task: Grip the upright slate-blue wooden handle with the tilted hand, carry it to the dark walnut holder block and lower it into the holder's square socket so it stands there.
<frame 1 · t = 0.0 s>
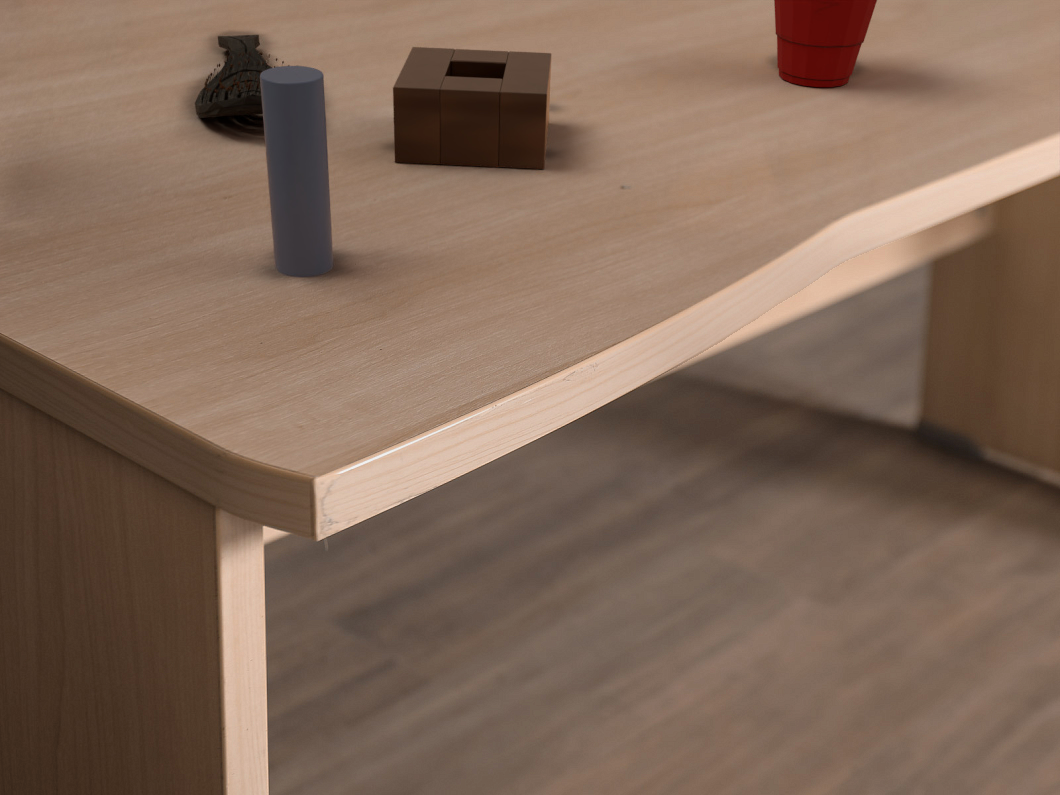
holder: (475, 141, 85), on the table
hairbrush: (249, 91, 93), on the table
handle: (305, 282, 64), on the table
plastic cup: (810, 80, 101), on the table
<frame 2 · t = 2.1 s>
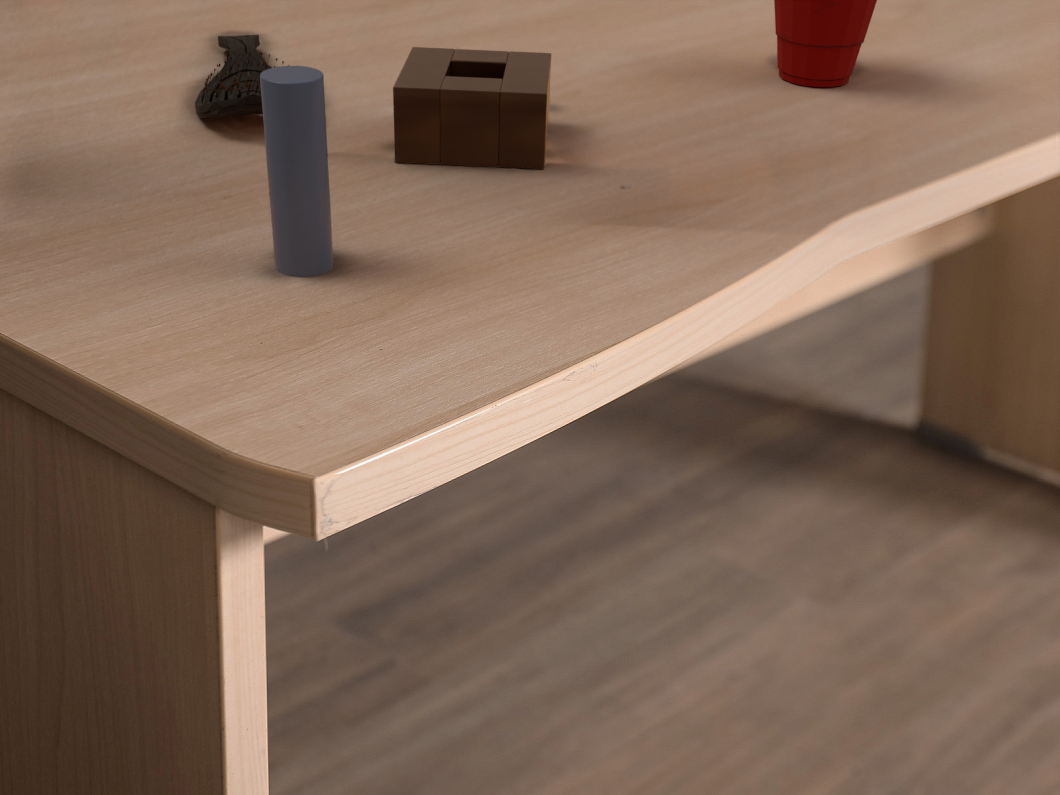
nothing on the table moved.
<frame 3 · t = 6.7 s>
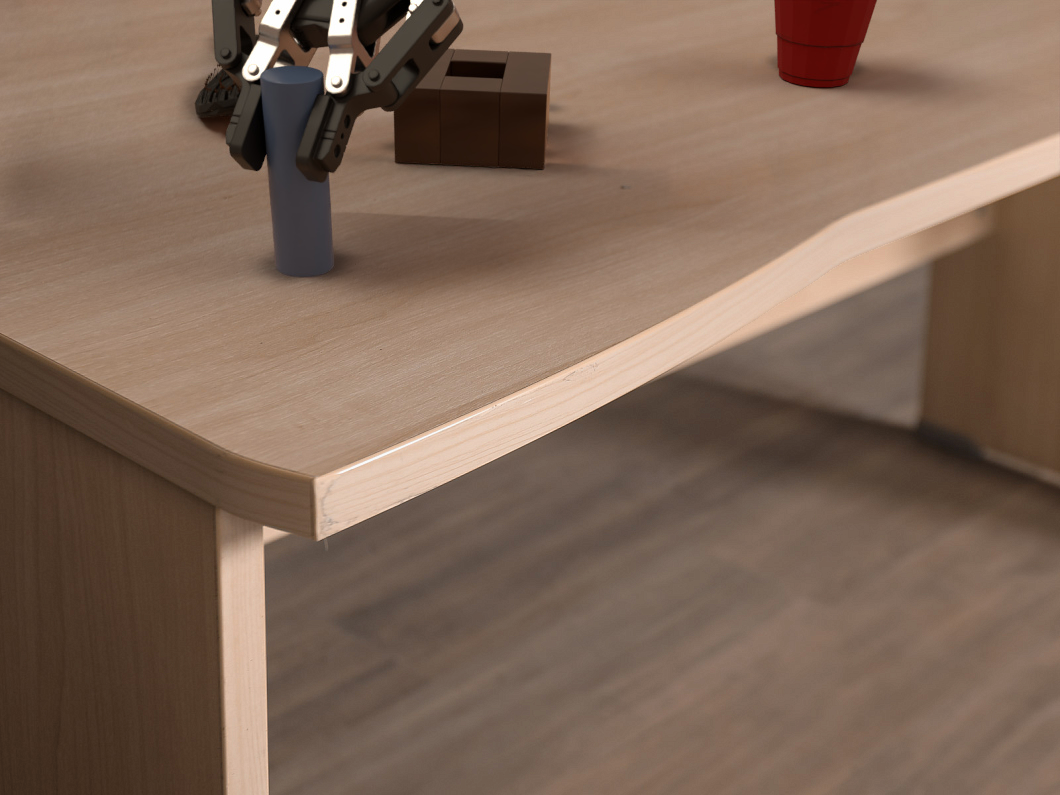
hand: (276, 167, 59), 7 cm above the table, tool tilted 45°, fingers closed on handle, 3 cm apart
handle: (306, 282, 64), on the table, touching gripper
everything else where it was.
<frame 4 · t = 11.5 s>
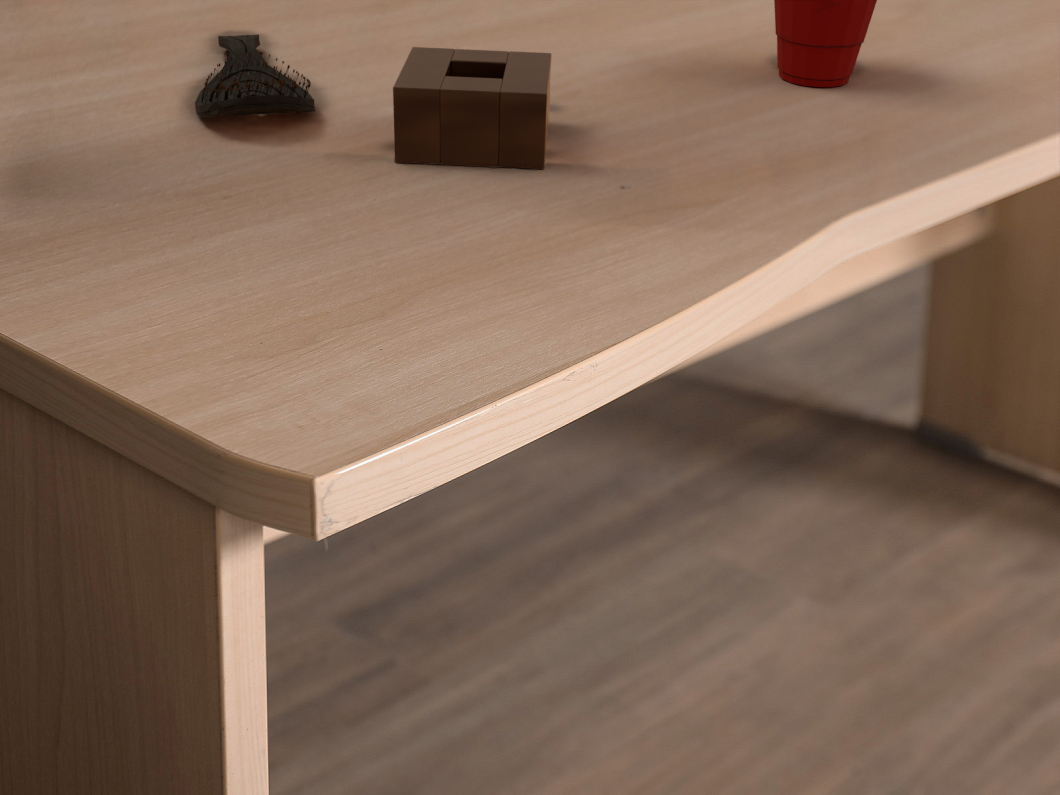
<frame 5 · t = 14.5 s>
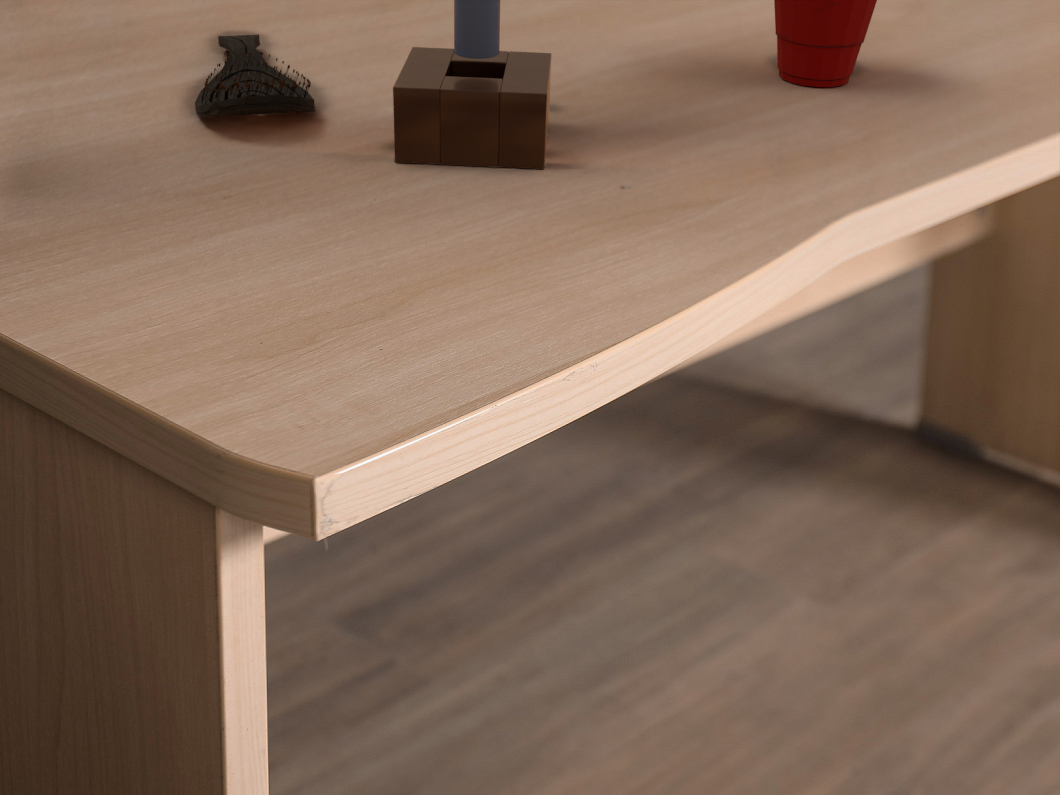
handle: (476, 52, 82), point 6 cm above the table, touching gripper
everything else where it was.
when the fingers open (7 cm above the table, at t = 16.6 s): handle stays where it is, resting in holder.
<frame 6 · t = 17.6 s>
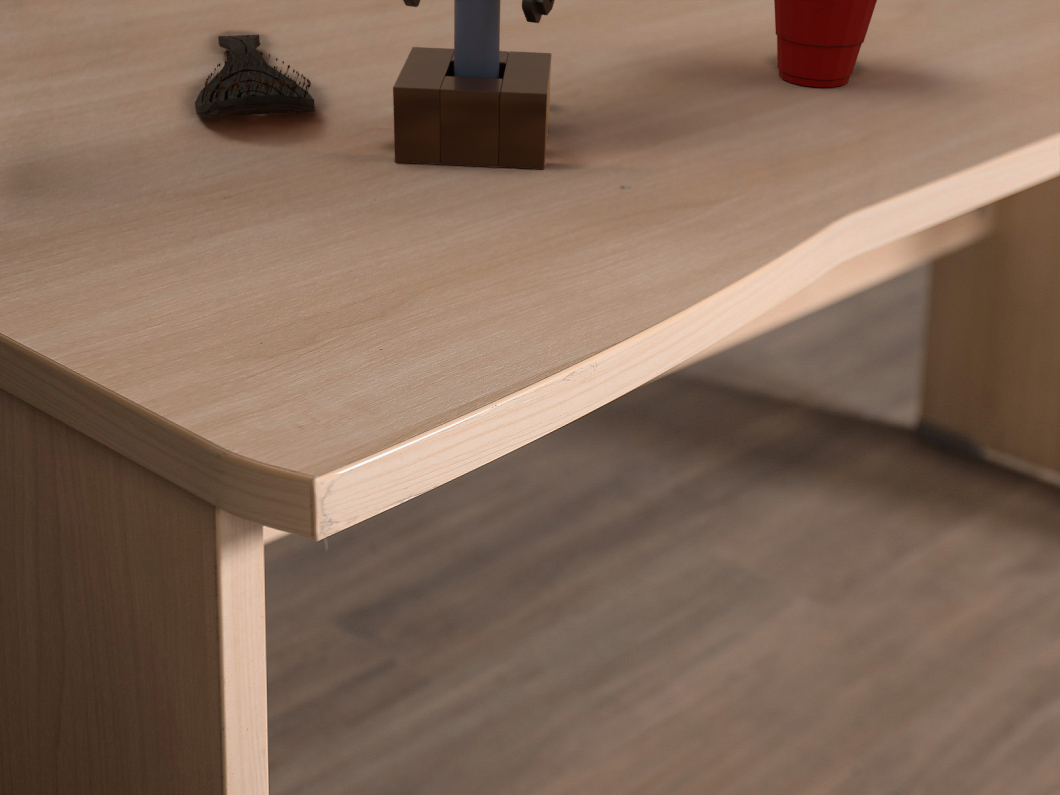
hand: (467, 7, 79), 9 cm above the table, tool tilted 45°, fingers open, 8 cm apart
handle: (475, 141, 85), resting in holder
everything else where it was.
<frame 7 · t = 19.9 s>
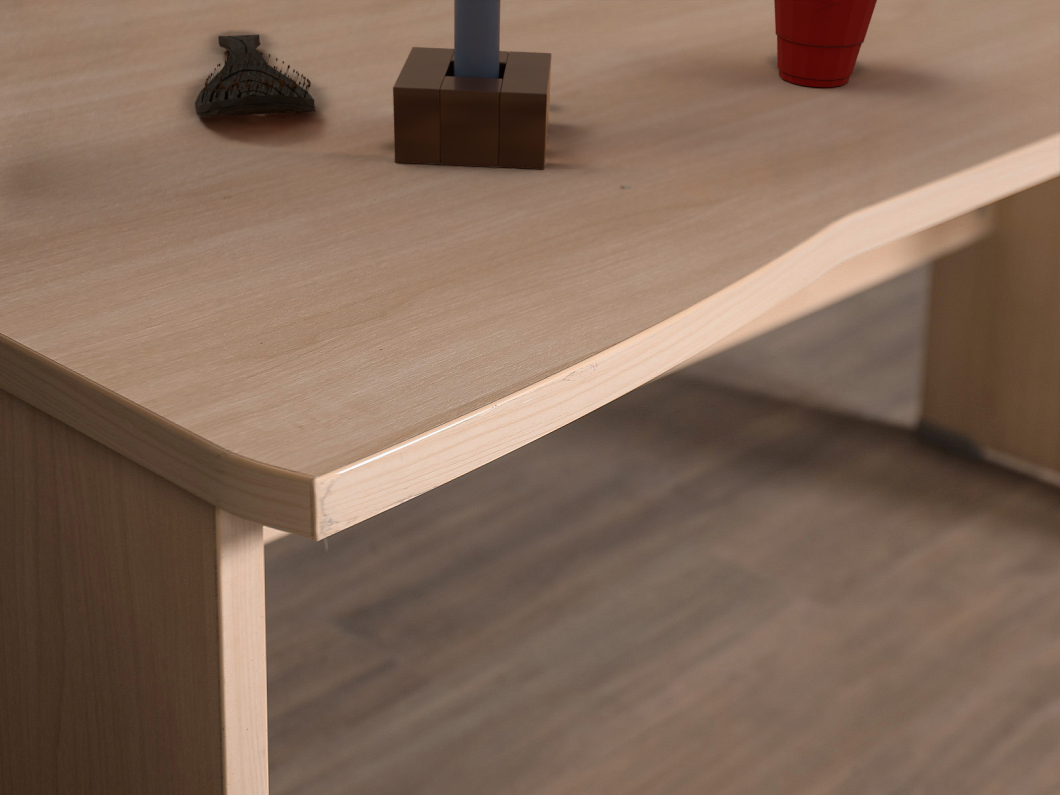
nothing on the table moved.
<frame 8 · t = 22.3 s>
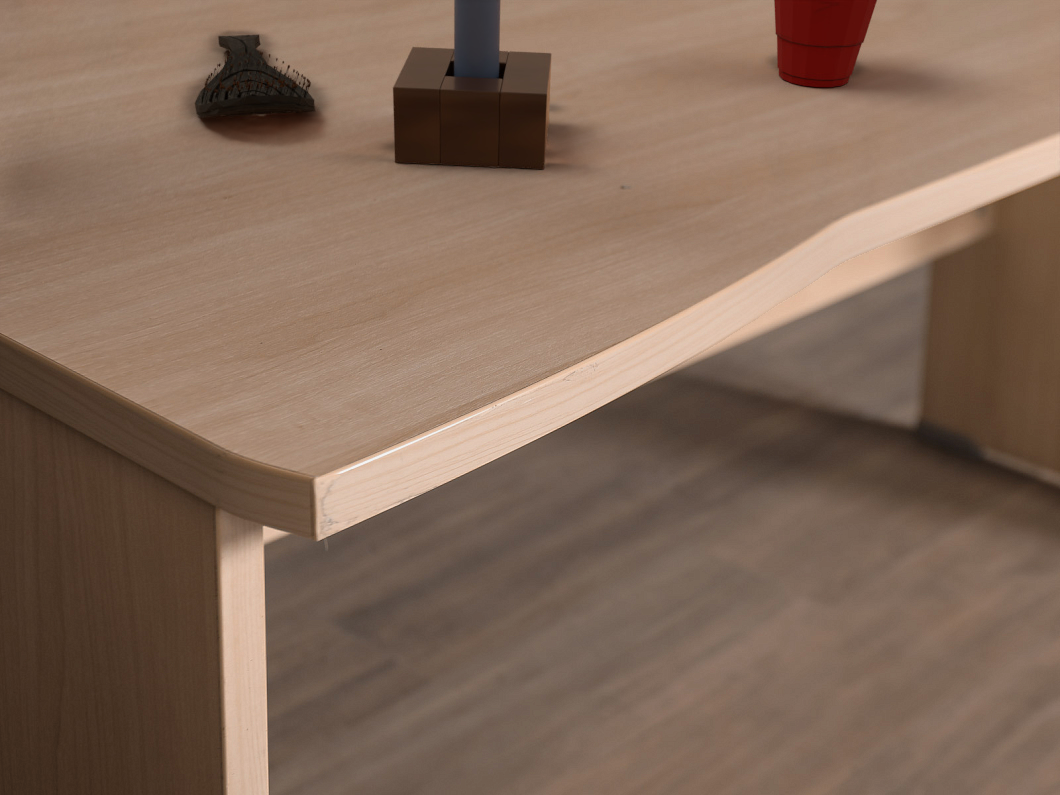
nothing on the table moved.
at the end: handle 0.0 cm off-centre in the holder, point 0.0 cm above the holder's base; handle tilted 0°; the gripper is holding nothing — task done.
